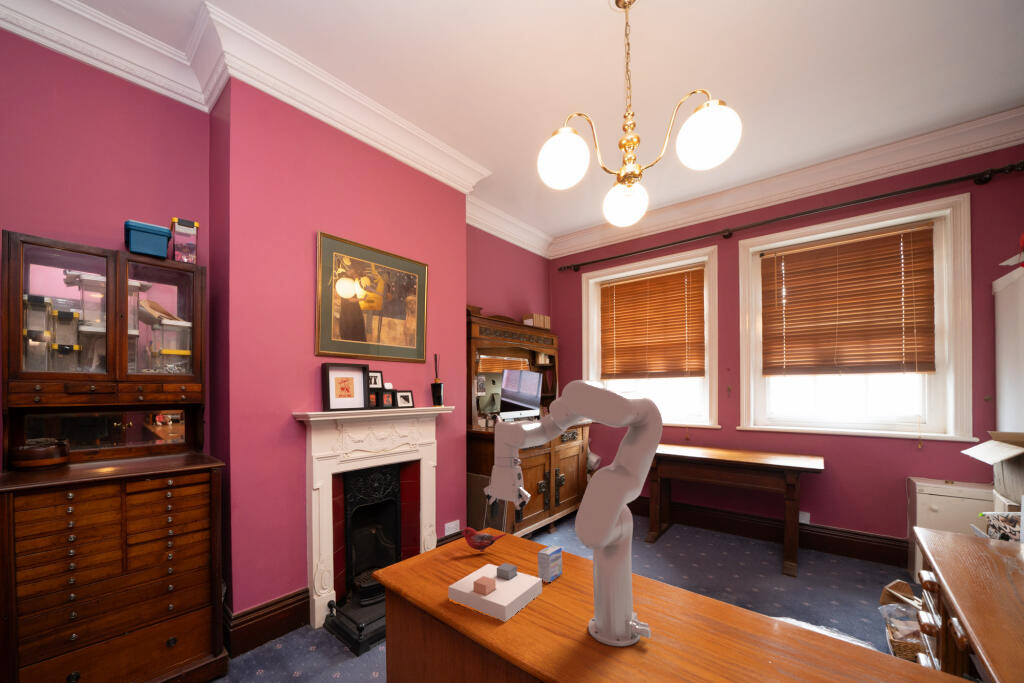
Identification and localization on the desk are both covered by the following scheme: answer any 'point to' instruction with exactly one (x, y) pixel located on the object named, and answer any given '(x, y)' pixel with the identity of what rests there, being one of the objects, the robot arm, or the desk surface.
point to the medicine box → (550, 563)
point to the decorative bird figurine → (479, 539)
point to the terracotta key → (484, 585)
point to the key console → (497, 593)
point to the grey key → (506, 571)
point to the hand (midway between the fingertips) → (506, 519)
